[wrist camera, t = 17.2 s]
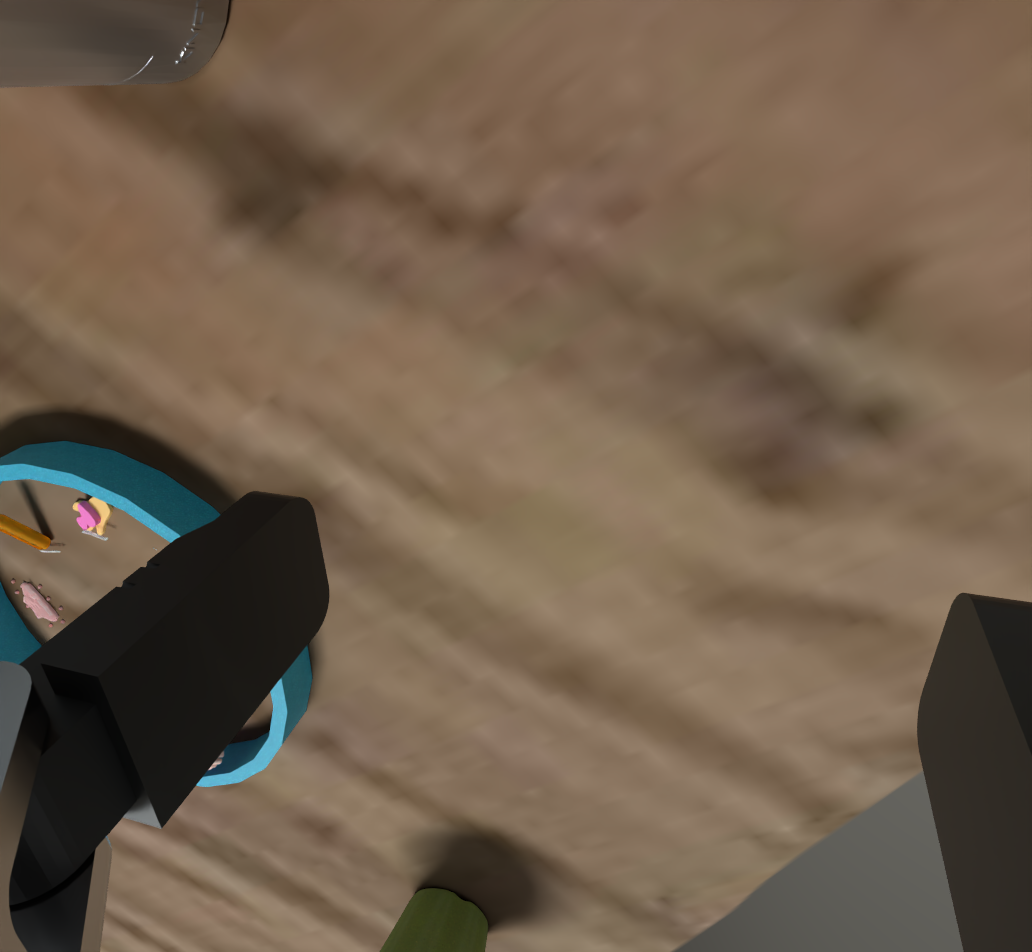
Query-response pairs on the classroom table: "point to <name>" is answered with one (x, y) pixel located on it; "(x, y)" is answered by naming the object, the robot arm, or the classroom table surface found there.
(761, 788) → the classroom table surface
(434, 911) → the plant pot
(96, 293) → the classroom table surface
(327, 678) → the classroom table surface
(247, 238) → the classroom table surface
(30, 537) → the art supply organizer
